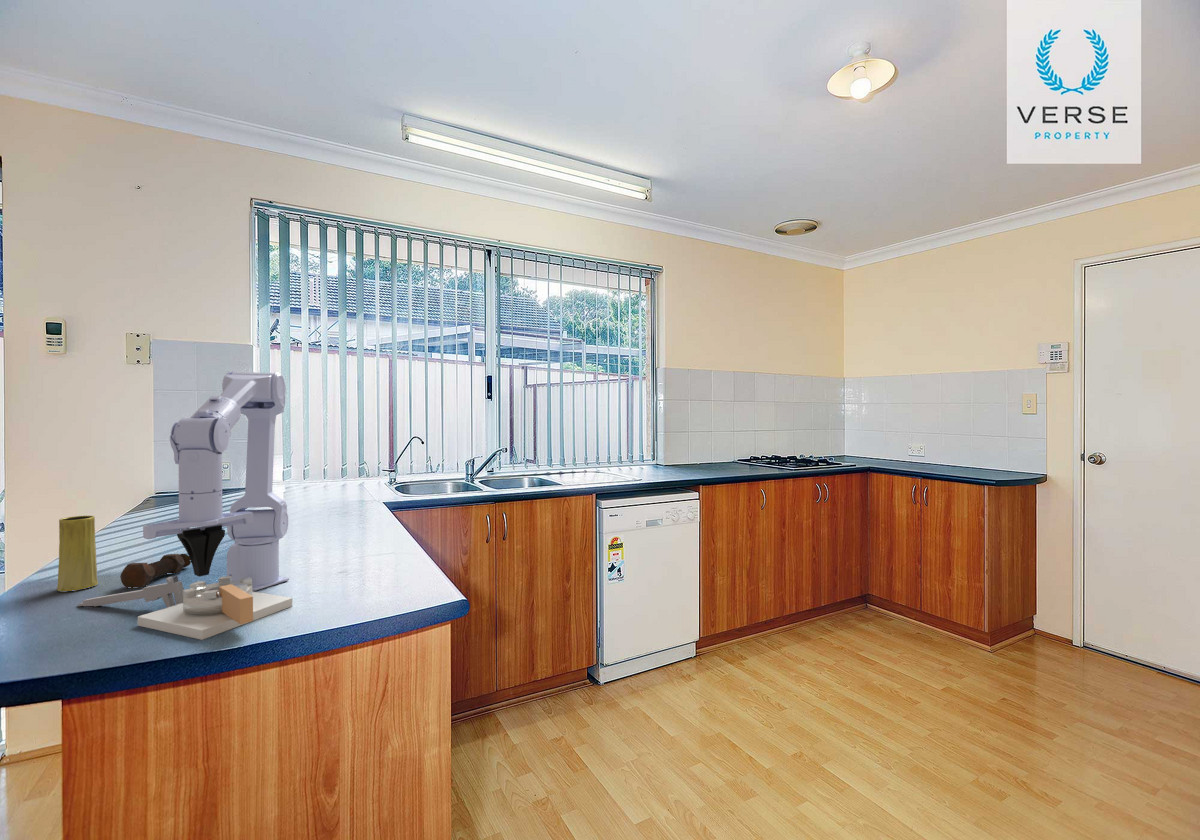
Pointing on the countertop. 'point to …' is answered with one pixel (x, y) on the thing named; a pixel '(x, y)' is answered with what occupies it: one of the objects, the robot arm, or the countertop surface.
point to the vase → (77, 553)
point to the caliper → (144, 594)
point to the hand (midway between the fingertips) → (201, 574)
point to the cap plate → (209, 617)
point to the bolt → (153, 570)
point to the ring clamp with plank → (221, 598)
